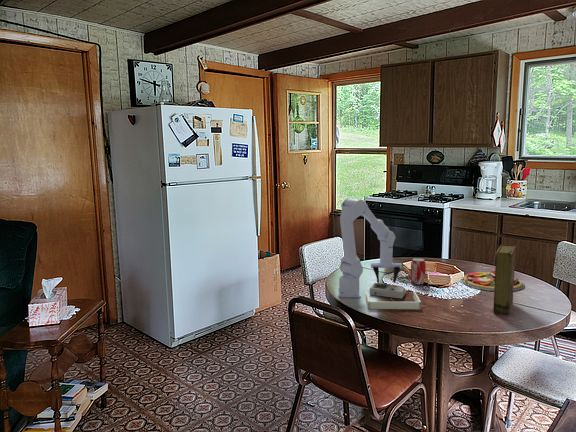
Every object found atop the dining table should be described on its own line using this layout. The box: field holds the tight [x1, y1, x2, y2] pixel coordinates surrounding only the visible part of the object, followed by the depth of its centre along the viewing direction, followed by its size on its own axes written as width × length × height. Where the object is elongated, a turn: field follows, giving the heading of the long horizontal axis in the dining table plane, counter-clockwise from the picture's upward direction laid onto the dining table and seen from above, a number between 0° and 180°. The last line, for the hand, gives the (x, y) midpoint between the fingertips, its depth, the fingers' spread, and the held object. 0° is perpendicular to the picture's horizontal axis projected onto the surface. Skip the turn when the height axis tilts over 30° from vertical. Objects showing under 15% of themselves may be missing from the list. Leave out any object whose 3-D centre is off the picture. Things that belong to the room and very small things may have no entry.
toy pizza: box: [460, 270, 525, 292], centre depth 212 cm, size 28×28×4 cm
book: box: [492, 243, 517, 316], centre depth 178 cm, size 16×6×25 cm, turn 148°
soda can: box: [410, 257, 427, 286], centre depth 214 cm, size 7×7×12 cm
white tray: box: [365, 291, 422, 310], centre depth 189 cm, size 22×13×3 cm, turn 84°
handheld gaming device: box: [369, 282, 406, 299], centre depth 201 cm, size 9×15×4 cm, turn 63°
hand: (386, 282), depth 211 cm, fingers open, 7 cm apart
